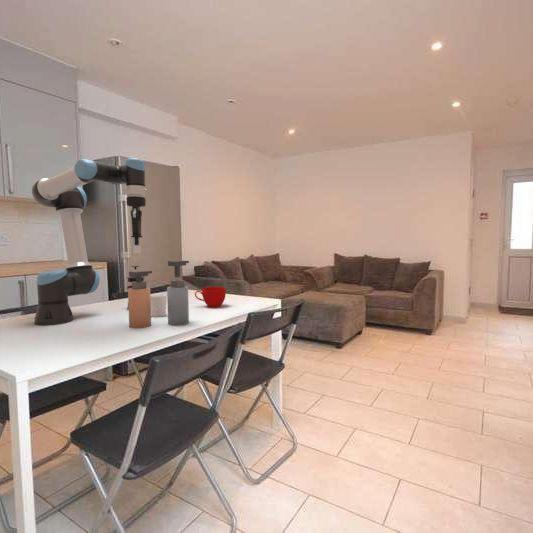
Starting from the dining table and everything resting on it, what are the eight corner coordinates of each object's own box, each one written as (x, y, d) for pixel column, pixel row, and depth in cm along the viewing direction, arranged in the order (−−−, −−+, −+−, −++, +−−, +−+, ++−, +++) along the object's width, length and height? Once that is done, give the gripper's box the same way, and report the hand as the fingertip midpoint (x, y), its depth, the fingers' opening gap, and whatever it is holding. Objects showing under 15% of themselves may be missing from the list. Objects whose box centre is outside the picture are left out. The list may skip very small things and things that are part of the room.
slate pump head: (175, 277, 153) (175, 261, 152) (168, 277, 155) (167, 261, 155) (191, 275, 161) (191, 260, 161) (184, 275, 163) (184, 260, 163)
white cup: (148, 314, 176) (148, 294, 175) (165, 313, 180) (164, 293, 179) (151, 317, 169) (150, 296, 168) (168, 316, 173) (167, 295, 172)
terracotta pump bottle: (138, 328, 148) (136, 283, 147) (124, 326, 153) (123, 282, 151) (155, 324, 155) (154, 281, 154) (142, 322, 160) (141, 280, 159)
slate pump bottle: (177, 326, 152) (176, 282, 151) (163, 323, 157) (162, 280, 156) (193, 322, 160) (192, 279, 158) (178, 319, 165) (178, 278, 163)
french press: (122, 308, 191) (121, 266, 189) (136, 306, 199) (135, 264, 198) (138, 310, 186) (136, 266, 184) (151, 307, 194) (150, 265, 192)
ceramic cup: (195, 305, 202) (194, 287, 201) (225, 303, 205) (225, 286, 204) (194, 309, 189) (194, 290, 188) (226, 308, 192) (226, 289, 192)
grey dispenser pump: (136, 289, 149) (135, 272, 149) (129, 288, 151) (128, 271, 151) (154, 286, 157) (154, 270, 157) (148, 285, 160) (147, 270, 159)
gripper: (143, 195, 145) (144, 253, 146) (147, 198, 157) (148, 252, 159) (123, 194, 143) (125, 253, 145) (129, 198, 156) (130, 252, 158)
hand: (137, 252), depth 152 cm, fingers closed
